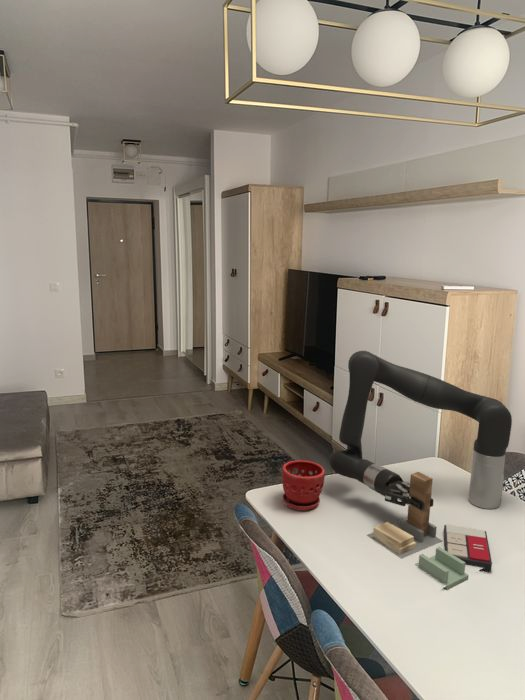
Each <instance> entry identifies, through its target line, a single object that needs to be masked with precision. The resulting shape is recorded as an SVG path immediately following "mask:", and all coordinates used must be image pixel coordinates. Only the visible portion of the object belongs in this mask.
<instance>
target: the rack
mask: <svg viewBox="0 0 525 700" xmlns="http://www.w3.org/2000/svg"><path fill="white" fill-rule="evenodd" d="M393 525H394V526H396V527H398V528H399V529H401V530H403V531H405V532H407V533H409V534H410V535H412V536H414V542H416V548H414V549H412V550H410V551H407V552H405V553H402V554H398V553H397V552H395V551H394V550H392V549H391V548H389V547H388V546H386V545H385V544H383V543H382V542H380V541H379V540H377V539H376V538H374V537H373V532H371V533H368V534H366V536H367V537H368V538H370V539H371V540H373V541H374V542H376V543H377V544H378V545H381V547H383V548H385V549H386V550H388V551H389V552H390V553H392V554H393V555H394V556H397V557H398V558H400V559H405V558H407V557H409V556H412V555H413V554H416V553H418V552H420V551H421V552H422V551H423V550H426V549H428V548H429V547H433V546H435V545H437V544H439V543H442V542H443V540H442V539H440V538H439V537H437V526H436V525H434V524H432V523H431V522H429V527H428V536H426V537H424V531H422V530H420V529H419V528H417V527H415V526H414V525H412V524H410V523H408V522H407V519H406V520H405V519H404V518H400V519H399V520H398V522H397V523H395V524H393Z"/></svg>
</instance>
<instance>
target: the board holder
mask: <svg viewBox="0 0 525 700" xmlns="http://www.w3.org/2000/svg"><path fill="white" fill-rule="evenodd" d="M465 563H466V562H464V561H462V560H461V559H459V558H457V557H456V556H454V555H452V554H451V553H449V552H447V551H446V550H445V548H443V547H441V546H437V547H436V548H435V555H432V556H430V557H428V556H427V555H425V554H424V553H421V554H419V555H418V562H417V563H416V564H414V565H415V566H416V567H417V568H419V569H420V570H422V571H423V572H425V573H427V574H428V575H429V576H431V577H433V579H436V580H437V581H439V582H440V583H442V584H443V585H445V586H444V587H443V589H444V590H445V591H448V590H450V589H452V588H454V587H457V586H458V585H460V584H462V583H464V582H466V581H468V580H469V574H468V573H466V572H465V571H466V564H465Z"/></svg>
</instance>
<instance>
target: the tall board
mask: <svg viewBox="0 0 525 700" xmlns="http://www.w3.org/2000/svg"><path fill="white" fill-rule="evenodd" d="M409 479H410V480H409V484H410V491H409V494H410V495H411V496H412V498H413V497H415V498H417V499H418V500H420V501H422V502H424V504H425V505H424V510H420V509H418V508H416V507H414V506H412V505H407V506H408V508H407V517H406V518H407V519H406V520H407V522H408V523H410V524H412V525H414V526H415V527H417V528H419V529H420V530H422V531H424V537H426V536H428V527H429V523H430V516H431V515H430V513H431V507H430V502H431V498H432V489H433V478H432V477H430V476H429V475H426V474H424V473H422V472H419V471H416V472H414V473H411V474H410V478H409Z"/></svg>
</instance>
